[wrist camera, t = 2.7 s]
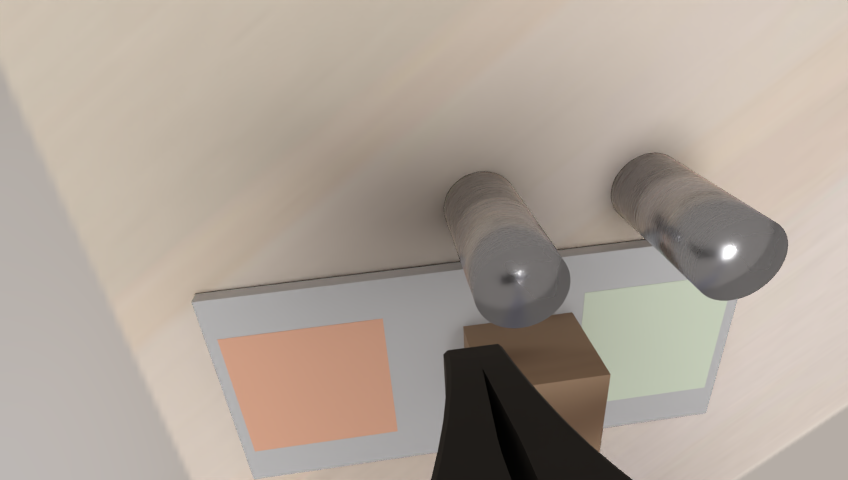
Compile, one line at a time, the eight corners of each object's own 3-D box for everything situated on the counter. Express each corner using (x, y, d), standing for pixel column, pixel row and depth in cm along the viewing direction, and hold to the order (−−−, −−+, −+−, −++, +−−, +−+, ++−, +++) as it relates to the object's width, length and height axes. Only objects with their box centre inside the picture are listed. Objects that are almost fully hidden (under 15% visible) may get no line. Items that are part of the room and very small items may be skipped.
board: (699, 404, 28) (705, 413, 28) (256, 469, 26) (254, 479, 26) (746, 227, 23) (756, 234, 22) (195, 294, 21) (191, 302, 21)
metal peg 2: (674, 215, 22) (773, 294, 17) (607, 223, 22) (686, 306, 17) (687, 149, 21) (799, 212, 15) (615, 157, 20) (704, 224, 15)
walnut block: (565, 392, 26) (598, 460, 22) (466, 406, 25) (484, 478, 22) (572, 312, 23) (610, 374, 20) (463, 326, 23) (482, 392, 19)
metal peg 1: (515, 234, 22) (567, 321, 16) (446, 242, 21) (474, 334, 16) (517, 167, 20) (573, 240, 15) (441, 175, 20) (472, 252, 15)
